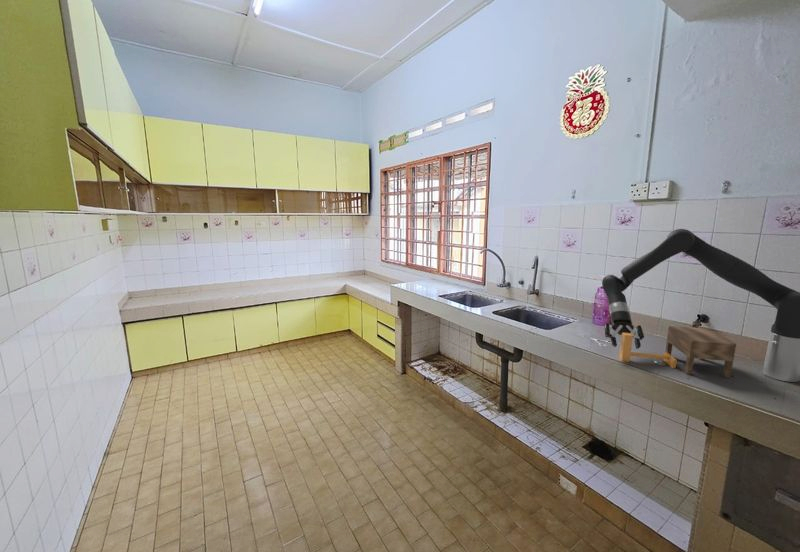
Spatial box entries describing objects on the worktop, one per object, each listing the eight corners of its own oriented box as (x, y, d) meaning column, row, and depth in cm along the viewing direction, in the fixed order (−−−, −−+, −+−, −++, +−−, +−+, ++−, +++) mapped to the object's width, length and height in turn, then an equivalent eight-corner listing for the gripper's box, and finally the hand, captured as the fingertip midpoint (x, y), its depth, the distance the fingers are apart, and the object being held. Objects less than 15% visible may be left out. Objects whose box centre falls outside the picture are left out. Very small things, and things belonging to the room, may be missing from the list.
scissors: (607, 347, 157) (569, 334, 174) (607, 349, 157) (568, 336, 174) (620, 343, 162) (581, 330, 179) (619, 344, 162) (581, 332, 179)
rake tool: (665, 359, 144) (669, 333, 141) (675, 368, 136) (679, 340, 134) (617, 355, 149) (620, 330, 146) (623, 363, 141) (626, 337, 139)
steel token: (664, 361, 143) (664, 360, 143) (669, 366, 138) (670, 365, 138) (650, 360, 144) (650, 358, 144) (655, 365, 140) (656, 363, 139)
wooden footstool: (702, 358, 144) (707, 328, 142) (730, 378, 127) (736, 344, 125) (664, 355, 148) (668, 325, 145) (686, 374, 131) (691, 341, 128)
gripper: (604, 309, 150) (610, 342, 141) (640, 310, 146) (649, 345, 137) (600, 316, 156) (605, 349, 147) (634, 318, 152) (642, 352, 143)
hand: (626, 347), depth 142 cm, fingers open, 8 cm apart
